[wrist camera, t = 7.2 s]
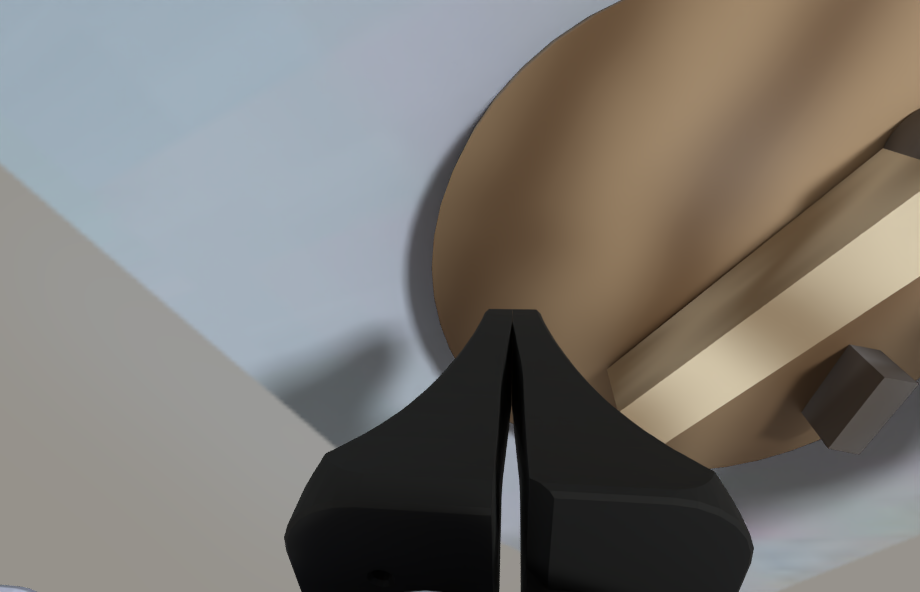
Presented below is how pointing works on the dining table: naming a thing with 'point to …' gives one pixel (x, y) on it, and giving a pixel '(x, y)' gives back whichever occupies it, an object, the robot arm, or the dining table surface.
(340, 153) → the dining table surface
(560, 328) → the stool seat
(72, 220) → the dining table surface
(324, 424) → the dining table surface
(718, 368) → the hinged leg
